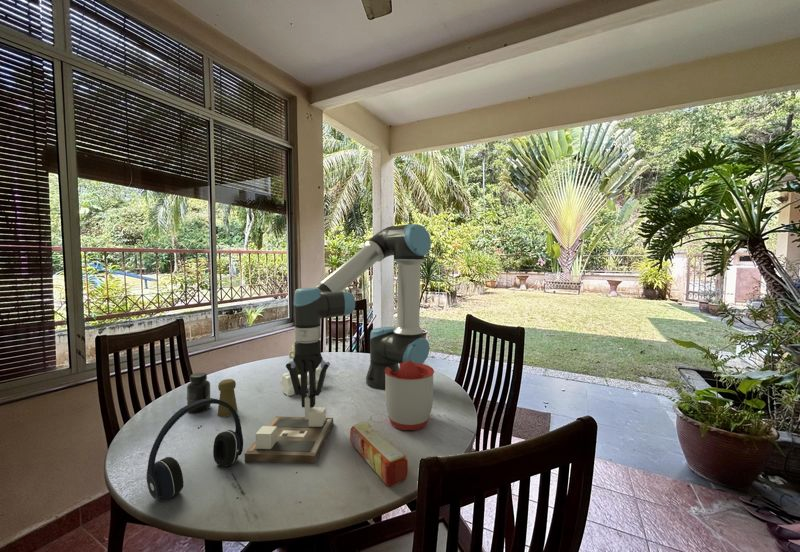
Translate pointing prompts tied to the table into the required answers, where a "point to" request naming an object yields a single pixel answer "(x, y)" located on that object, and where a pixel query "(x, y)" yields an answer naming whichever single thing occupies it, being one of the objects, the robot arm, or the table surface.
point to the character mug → (293, 358)
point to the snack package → (379, 453)
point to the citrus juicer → (409, 395)
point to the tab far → (317, 416)
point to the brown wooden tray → (293, 442)
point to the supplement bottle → (198, 391)
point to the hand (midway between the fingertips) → (308, 417)
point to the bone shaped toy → (288, 386)
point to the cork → (227, 397)
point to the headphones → (167, 471)
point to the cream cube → (266, 437)
